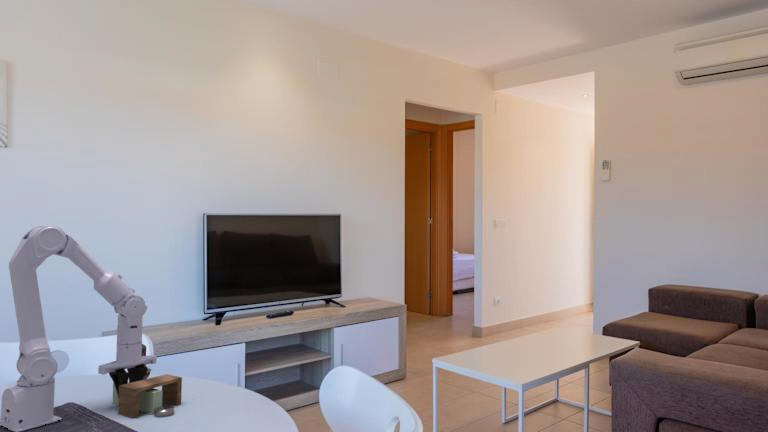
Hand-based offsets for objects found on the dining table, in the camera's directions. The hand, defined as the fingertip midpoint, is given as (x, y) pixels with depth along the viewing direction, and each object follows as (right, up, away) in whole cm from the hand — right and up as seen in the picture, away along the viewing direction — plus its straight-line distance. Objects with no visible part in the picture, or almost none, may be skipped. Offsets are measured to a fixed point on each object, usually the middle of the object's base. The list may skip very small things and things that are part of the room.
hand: (127, 397), depth 133 cm
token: (+12, -2, -7) cm, 14 cm away
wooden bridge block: (+7, -2, -3) cm, 8 cm away
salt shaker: (-6, -3, +20) cm, 21 cm away
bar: (+3, -2, -2) cm, 4 cm away
